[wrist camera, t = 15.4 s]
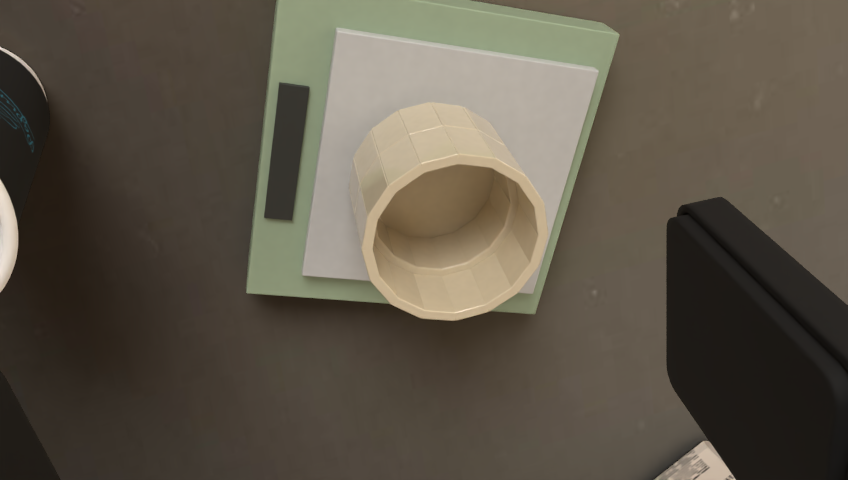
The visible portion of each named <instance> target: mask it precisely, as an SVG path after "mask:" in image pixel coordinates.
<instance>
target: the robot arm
mask: <svg viewBox="0 0 848 480" xmlns="http://www.w3.org/2000/svg"><path fill="white" fill-rule="evenodd" d="M667 371H668V376H669V379H670V382H671V384H672V387H673V388H674V390H675V392H676V393H677V395H678V396H679V398H680V399H681V401H682V402H683V403H684V405H685V406H686V408H687V409H688V411H689V412H690V414H691V415H692V417H693V418H694V419H695V421H696V422H697V424H698V425H699V427H700V428H701V430H702V431H703V433H704V434H705V435H706V437H707V438H708V440H709V441H710V443H711V444H712V446H713V447H714V449H715V450H716V451H717V453H718V454H719V456H720V457H721V459H722V460H723V462H724V463H725V465H726V466H727V467H728V469H729V470H730V472H731V473H732V475H733V476H734V478H735V479H736V480H848V305H846V304H845V303H844V302H843V301H842V300H841V299H840V298H838V297H837V296H836V295H835V294H834V293H833V292H832V291H830V290H829V289H828V288H827V287H826V286H825V285H823V284H822V283H821V282H820V281H819V280H818V279H817V278H815V277H814V276H813V275H812V274H811V273H810V272H809V271H807V270H806V269H805V268H804V267H803V266H802V265H801V264H799V263H798V262H797V261H796V260H795V259H794V258H793V257H791V256H790V255H789V254H788V253H787V252H786V251H785V250H783V249H782V248H781V247H780V246H779V245H778V244H777V243H775V242H774V241H773V240H772V239H771V238H770V237H768V236H767V235H766V234H765V233H764V232H763V231H762V230H760V229H759V228H758V227H757V226H756V225H755V224H754V223H752V222H751V221H750V220H749V219H748V218H747V217H746V216H744V215H743V214H742V213H741V212H740V211H739V210H738V209H736V208H735V207H734V206H733V205H732V204H731V203H730V202H728V201H727V200H726V199H724V198H722V197H717V198H712V199H708V200H703V201H699V202H694V203H690V204H685V205H682V206H681V207H680V208H679V210H678V213H677V217H673V218H670V219H669V220H668V223H667ZM0 480H60V478H59V476H58V474H57V472H56V470H55V468H54V467H53V465H52V463H51V461H50V459H49V457H48V455H47V454H46V452H45V450H44V448H43V446H42V444H41V443H40V441H39V439H38V437H37V435H36V433H35V431H34V430H33V428H32V426H31V424H30V422H29V420H28V418H27V417H26V415H25V413H24V411H23V409H22V407H21V405H20V404H19V402H18V400H17V398H16V396H15V394H14V393H13V391H12V389H11V387H10V385H9V383H8V381H7V380H6V378H5V376H4V375H3V373H2V372H0Z"/></svg>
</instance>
